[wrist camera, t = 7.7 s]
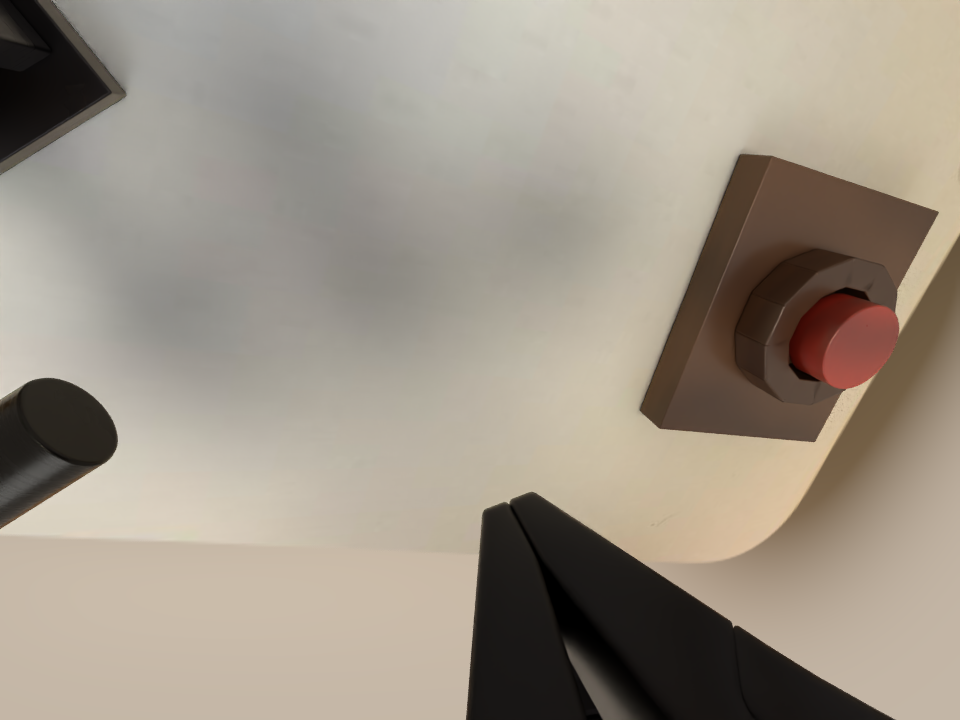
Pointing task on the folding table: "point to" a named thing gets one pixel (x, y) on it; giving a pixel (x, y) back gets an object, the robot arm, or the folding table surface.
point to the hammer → (49, 442)
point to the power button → (844, 340)
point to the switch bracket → (45, 79)
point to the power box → (776, 297)
